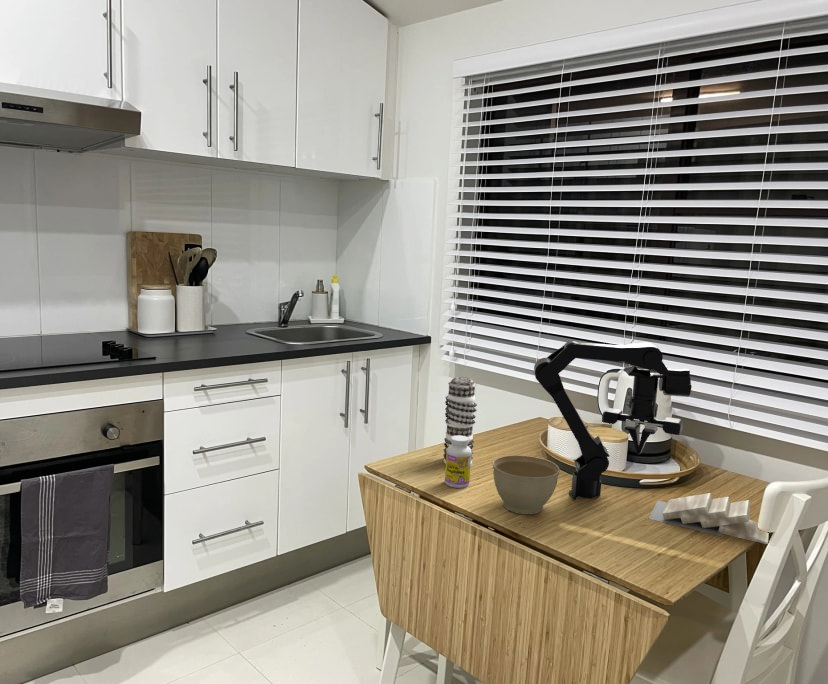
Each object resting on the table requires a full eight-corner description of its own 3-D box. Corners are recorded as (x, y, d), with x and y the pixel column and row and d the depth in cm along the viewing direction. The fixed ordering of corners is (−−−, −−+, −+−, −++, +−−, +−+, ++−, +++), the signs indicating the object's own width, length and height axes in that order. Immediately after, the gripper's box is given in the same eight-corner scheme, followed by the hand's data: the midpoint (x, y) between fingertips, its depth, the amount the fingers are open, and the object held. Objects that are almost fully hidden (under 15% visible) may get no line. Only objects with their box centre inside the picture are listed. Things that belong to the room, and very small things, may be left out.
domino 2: (680, 517, 154) (725, 510, 149) (686, 503, 163) (728, 496, 158) (682, 524, 154) (727, 517, 149) (688, 509, 163) (730, 502, 158)
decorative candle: (435, 460, 193) (439, 377, 189) (459, 454, 199) (464, 374, 195) (455, 469, 186) (460, 383, 182) (479, 464, 192) (484, 380, 188)
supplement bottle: (441, 485, 174) (443, 439, 172) (449, 477, 180) (451, 432, 178) (465, 490, 171) (467, 443, 169) (472, 482, 177) (475, 436, 175)
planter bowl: (568, 509, 162) (572, 467, 161) (530, 527, 151) (533, 482, 149) (516, 489, 174) (519, 450, 172) (476, 505, 162) (479, 463, 161)
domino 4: (720, 525, 150) (768, 542, 146) (723, 510, 159) (769, 526, 154) (718, 531, 150) (766, 548, 146) (721, 516, 159) (767, 532, 154)
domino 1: (662, 513, 156) (705, 506, 151) (669, 499, 165) (710, 492, 160) (664, 519, 156) (708, 513, 151) (671, 505, 165) (712, 499, 160)
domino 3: (700, 521, 152) (746, 514, 147) (705, 506, 161) (748, 500, 156) (702, 528, 152) (748, 521, 147) (707, 513, 161) (750, 506, 156)
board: (648, 522, 156) (648, 518, 156) (657, 504, 168) (657, 500, 168) (721, 540, 149) (722, 535, 149) (725, 519, 160) (726, 515, 160)
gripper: (688, 393, 166) (682, 452, 169) (613, 382, 175) (608, 438, 178) (682, 402, 157) (676, 464, 159) (603, 390, 166) (598, 449, 168)
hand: (638, 453), depth 166 cm, fingers closed
